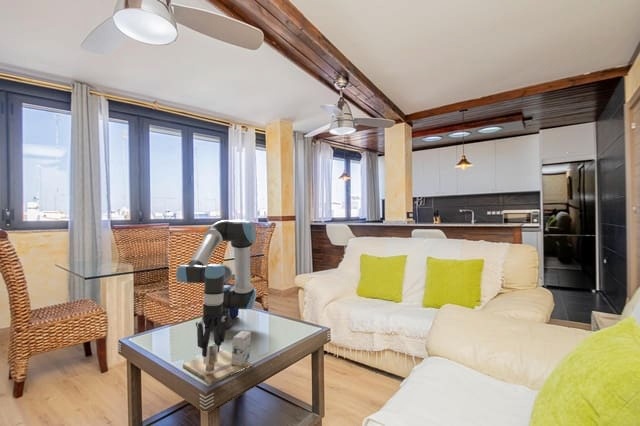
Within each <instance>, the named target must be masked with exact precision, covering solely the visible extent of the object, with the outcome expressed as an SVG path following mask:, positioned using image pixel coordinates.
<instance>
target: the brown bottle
mask: <svg viewBox="0 0 640 426" xmlns="http://www.w3.org/2000/svg"><path fill="white" fill-rule="evenodd" d="M208 348H210V350H209V365H206V371H213V370H214V363H215V353H213V345H208Z"/></svg>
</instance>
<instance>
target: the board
mask: <svg viewBox="0 0 640 426" xmlns="http://www.w3.org/2000/svg"><path fill="white" fill-rule="evenodd" d="M203 358H204V357H203V356H202V357H198V358H195V359H192V360H190V361H187V362H183V363H182V367H184V368H185V369H187V370H188V371H190V372H192V373H193V374H194V375H196V376H198V377H199V378H200V379H202V380H204V381H205V380H206V381H205V382H207V381H208V383H209V382H210V383H211V384H213V383H212V382H214V383H216V382H219V381H221V380H223V379H222V378H224V377H226V376H229V375H231V374H233V373H235V372H237V371H239V370H241V369H243V368H246V367H248V366H250V365H252V364H253V363H251V362H250V361H248V360H247V361H246V362H245V363H244V364H243V365H242V366H238V365H233V364H231V362H232V353H231V352H229V351H227V350H225V349H222V350H219V352H218V357H217V362H215V363H214V370H213V371H206V365H205V364H203ZM252 366H253V365H252ZM231 376H232V375H231ZM229 377H230V376H229ZM226 378H227V377H226ZM220 379H221V380H220ZM224 379H225V378H224ZM218 380H219V381H218ZM215 381H216V382H215ZM210 383H209V384H210Z"/></svg>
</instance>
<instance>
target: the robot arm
mask: <svg viewBox="0 0 640 426" xmlns="http://www.w3.org/2000/svg"><path fill="white" fill-rule="evenodd" d="M256 235H257V234H256V227H255V224H254V222H253V221H250V220H246V219H245V220H237V219H236V220H232V219H222V220H220V221H217V222H215V223H213V224H212V225H210V226H209V227H208V228H207V229H206V231H205V232H204V234H203V239H202V241H201V242H200V244H199V245H198V247H197V248H196V250H195V251H194V253H193V255H192V257H191V258H190V260H189V261H188V263H187V264H180V265H178V267H177V270H176V275H175V276H176V280H177V282H179V283H184V284H185V283H186V284H204V287H203V303H204V304H203V305H202V315H203V316H202V318H201V320H200V321H196V322H195V326H196V328H197V329H196V330H197V331H196V332H197V333H196V335H197V337H196V338H197V347H198V348H200V349H202V350H201V356H202V357H204V358H203V364H205V365H209V350H210V348H209V343H210V338H211V332H213V340H214V343H212V346H213V353H215V362H217V357H218V352H219V351H220V347H221V346H222V343H224V342H225V340H226V339H225V338H226V337H225V336H226V330H227V329H230V328H231V327H232V326H233V320H232V319H231V316H230V309H239V310H252V309H253V308H254V307H255V302H256V299H257V289H256V288H254V285H253V283H252V281H251V276H252V275H251V247H252V246H253V243H255V242H256V239H257V237H256ZM222 242H230V246H231V247H232V248H233V252H234V254H233V256H234V257H233V258H234V279H235V281H234V282H235V285H233V286H234V287H233V288H231V287H232V286H231V285H230V284H229V285H228V284H226V283H228V282H229V281H230V279H232V276H233V271H232V268H231V267H229V266H228V265H227V264H226V265H225V264H222V263H221V264H220V263H211V264H208V263H209V261H210V260H211V257H212V256H213V254H214V253H215V250H216V248H217V247H218V246H219V245H220V244H221V243H222Z"/></svg>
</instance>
